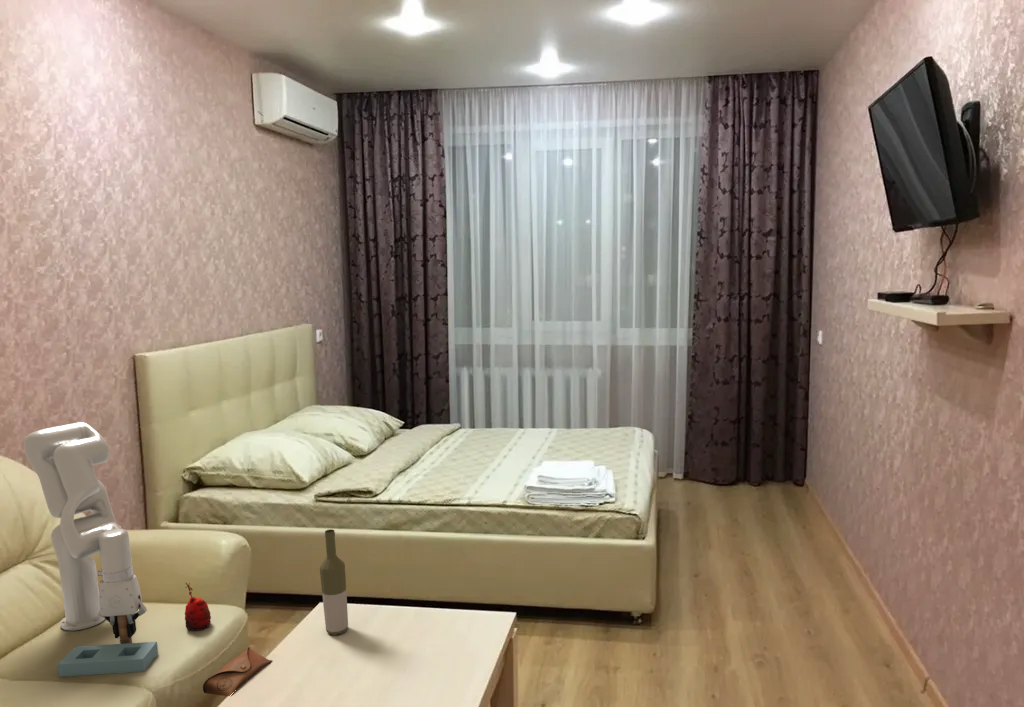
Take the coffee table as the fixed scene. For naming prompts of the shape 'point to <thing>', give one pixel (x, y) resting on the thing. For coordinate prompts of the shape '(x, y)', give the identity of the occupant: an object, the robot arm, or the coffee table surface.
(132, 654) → the hole block
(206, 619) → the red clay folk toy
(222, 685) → the sunglasses case
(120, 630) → the peg
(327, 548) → the bottle
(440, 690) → the coffee table surface
